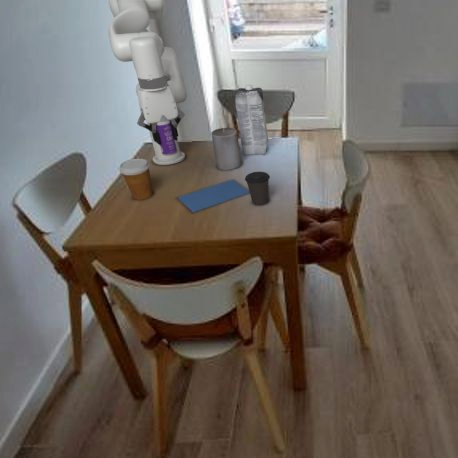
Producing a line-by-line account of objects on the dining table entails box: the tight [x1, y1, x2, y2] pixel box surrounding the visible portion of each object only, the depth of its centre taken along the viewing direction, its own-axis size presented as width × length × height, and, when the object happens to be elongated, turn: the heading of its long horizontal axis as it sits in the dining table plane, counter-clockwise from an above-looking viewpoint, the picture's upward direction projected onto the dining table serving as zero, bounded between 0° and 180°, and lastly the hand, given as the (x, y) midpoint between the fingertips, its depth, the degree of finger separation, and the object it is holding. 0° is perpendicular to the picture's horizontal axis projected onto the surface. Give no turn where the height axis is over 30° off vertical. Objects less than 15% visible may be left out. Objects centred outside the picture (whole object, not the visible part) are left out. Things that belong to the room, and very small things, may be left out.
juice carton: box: [234, 84, 269, 156], centre depth 174 cm, size 9×10×27 cm
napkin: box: [177, 179, 250, 213], centre depth 149 cm, size 13×21×1 cm, turn 129°
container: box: [156, 115, 177, 156], centre depth 135 cm, size 5×5×15 cm
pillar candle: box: [211, 127, 243, 171], centre depth 166 cm, size 10×10×15 cm
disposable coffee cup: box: [118, 158, 153, 201], centre depth 147 cm, size 10×10×12 cm
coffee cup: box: [244, 171, 271, 206], centre depth 142 cm, size 8×8×10 cm
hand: (166, 140), depth 136 cm, fingers closed on container, 4 cm apart
